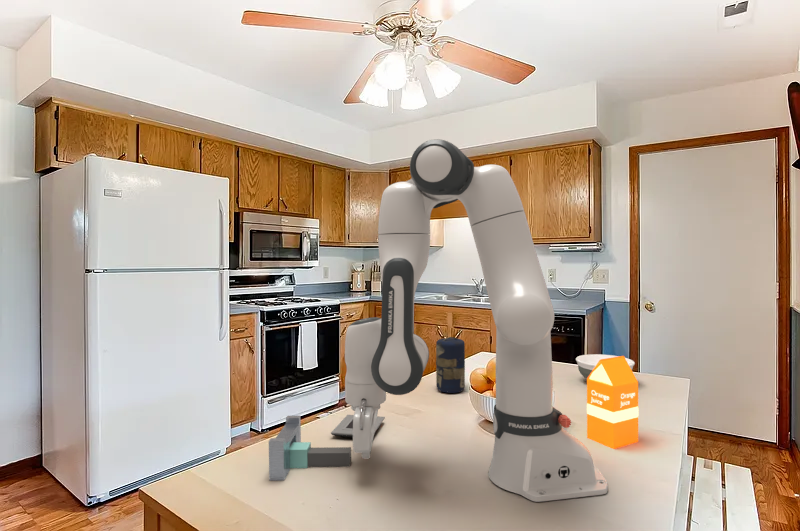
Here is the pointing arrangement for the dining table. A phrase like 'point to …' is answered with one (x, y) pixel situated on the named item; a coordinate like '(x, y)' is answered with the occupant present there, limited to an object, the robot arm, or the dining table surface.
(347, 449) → the plug
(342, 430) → the electrical outlet
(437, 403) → the dining table surface
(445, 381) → the canister
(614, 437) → the orange juice
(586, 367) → the bowl
